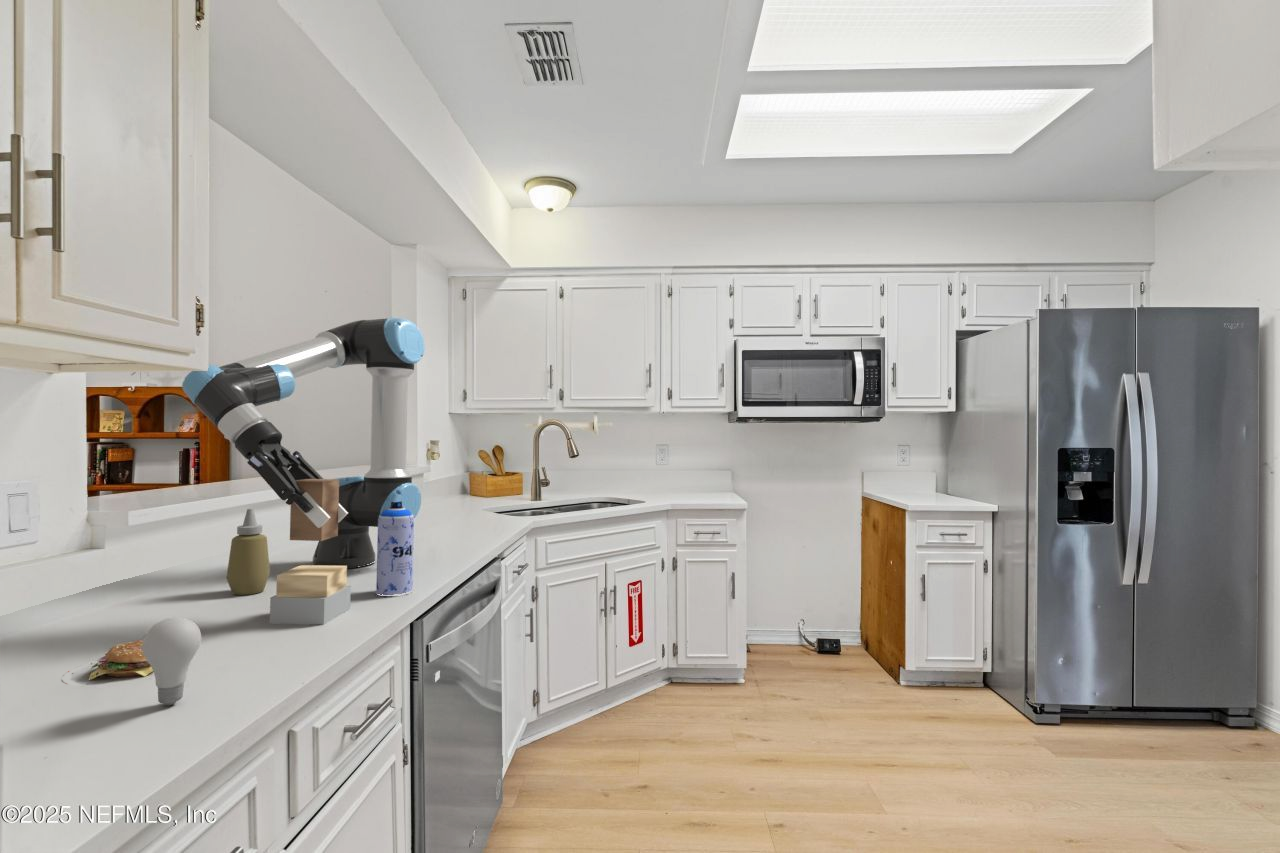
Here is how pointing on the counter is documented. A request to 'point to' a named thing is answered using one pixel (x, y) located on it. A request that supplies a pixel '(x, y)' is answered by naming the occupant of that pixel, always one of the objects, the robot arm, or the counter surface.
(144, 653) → the lightbulb
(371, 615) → the counter surface
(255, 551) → the squeeze bottle
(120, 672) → the hamburger
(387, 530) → the aerosol can
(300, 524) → the walnut block
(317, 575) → the beech slab
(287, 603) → the grey slab
